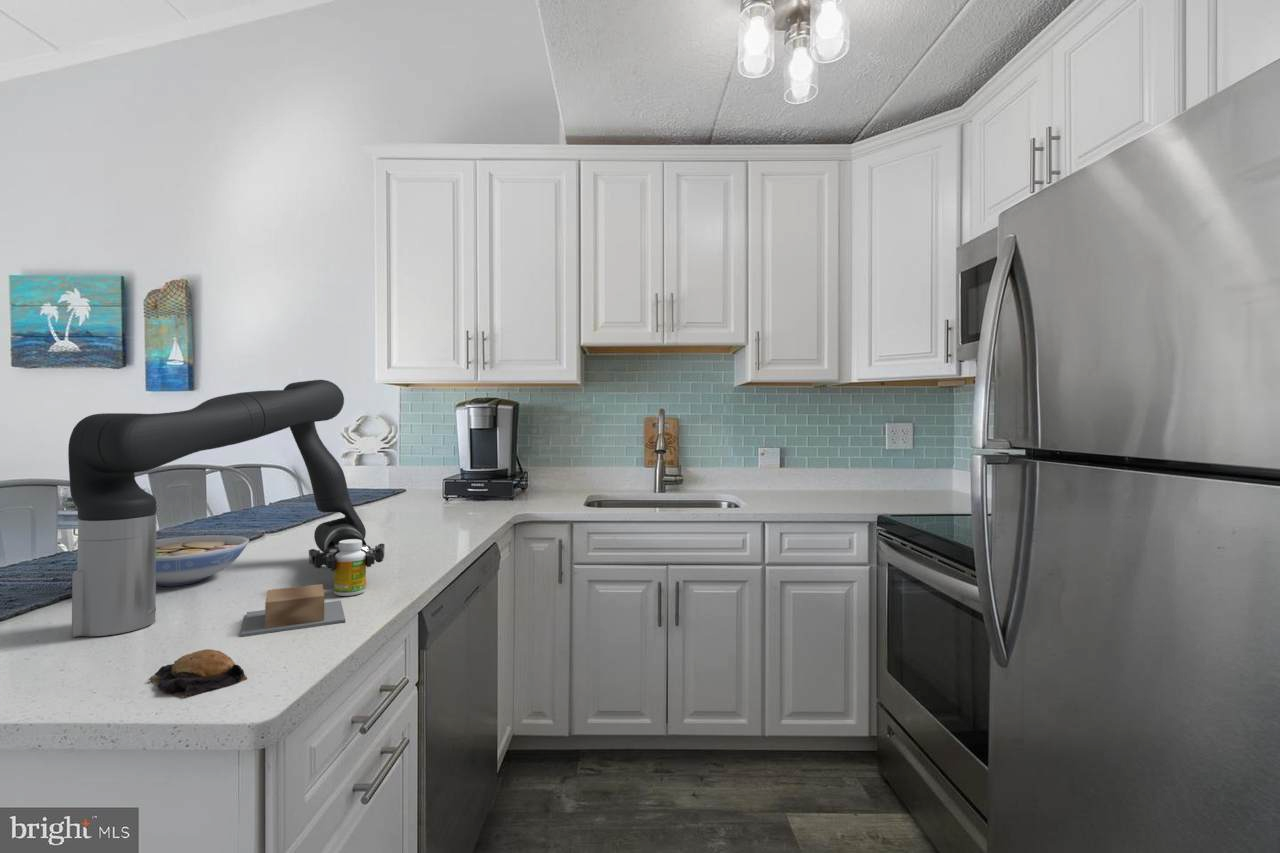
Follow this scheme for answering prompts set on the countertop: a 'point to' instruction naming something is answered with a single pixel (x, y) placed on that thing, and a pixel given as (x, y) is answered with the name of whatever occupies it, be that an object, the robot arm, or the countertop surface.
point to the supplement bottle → (350, 568)
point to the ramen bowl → (195, 557)
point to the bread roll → (198, 674)
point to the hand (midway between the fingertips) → (351, 563)
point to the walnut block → (294, 606)
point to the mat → (257, 625)
